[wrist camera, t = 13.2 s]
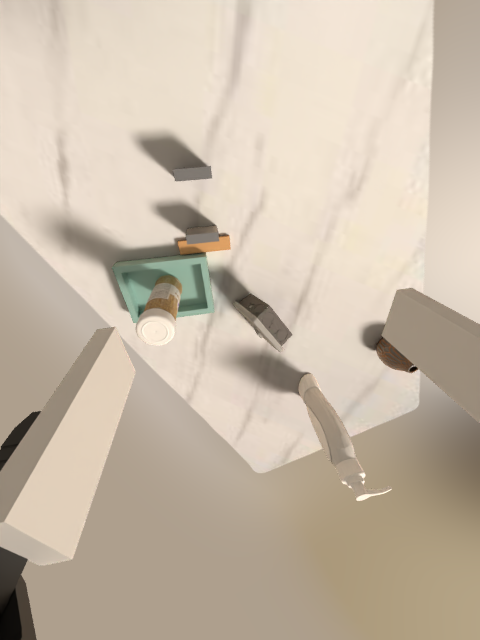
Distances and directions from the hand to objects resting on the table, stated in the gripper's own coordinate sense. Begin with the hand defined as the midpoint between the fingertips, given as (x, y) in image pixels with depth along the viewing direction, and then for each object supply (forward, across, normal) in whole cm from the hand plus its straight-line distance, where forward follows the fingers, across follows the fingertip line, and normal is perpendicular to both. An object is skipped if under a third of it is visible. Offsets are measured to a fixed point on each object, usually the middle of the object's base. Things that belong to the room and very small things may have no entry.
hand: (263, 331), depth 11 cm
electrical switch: (+29, +5, -16) cm, 33 cm away
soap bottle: (+29, +19, -41) cm, 54 cm away
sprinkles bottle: (+28, -10, -9) cm, 31 cm away
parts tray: (+29, -10, -9) cm, 32 cm away
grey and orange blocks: (+29, -3, +2) cm, 29 cm away
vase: (+29, +36, -30) cm, 55 cm away
